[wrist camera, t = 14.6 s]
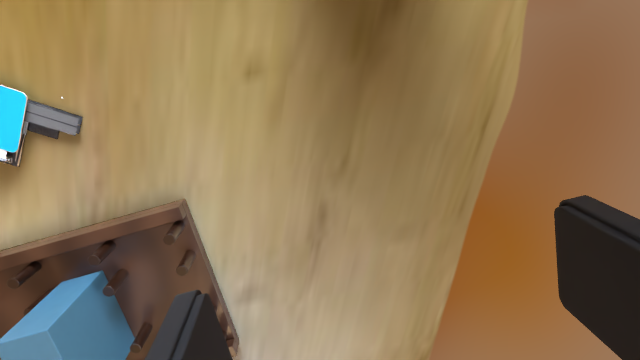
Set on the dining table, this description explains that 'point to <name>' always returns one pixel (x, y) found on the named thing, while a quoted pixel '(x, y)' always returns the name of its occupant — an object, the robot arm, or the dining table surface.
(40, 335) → the carton
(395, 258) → the dining table surface
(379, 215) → the dining table surface
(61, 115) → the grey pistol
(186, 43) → the dining table surface
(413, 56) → the dining table surface
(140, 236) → the rack
